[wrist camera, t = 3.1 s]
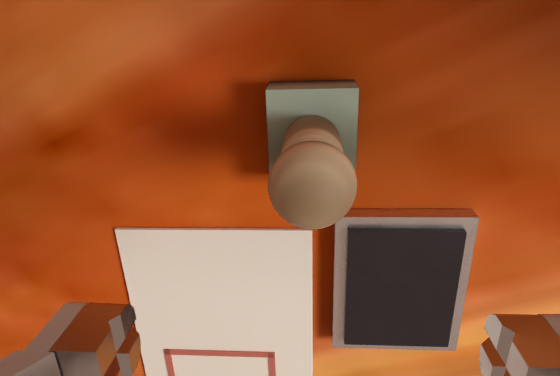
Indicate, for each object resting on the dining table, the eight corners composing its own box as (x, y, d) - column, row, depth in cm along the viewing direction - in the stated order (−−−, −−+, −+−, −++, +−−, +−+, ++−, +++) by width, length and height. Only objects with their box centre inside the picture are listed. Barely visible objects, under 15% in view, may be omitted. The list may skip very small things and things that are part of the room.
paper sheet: (116, 227, 30) (113, 230, 29) (312, 228, 29) (312, 231, 28) (161, 436, 38) (159, 440, 38) (312, 443, 37) (312, 448, 37)
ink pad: (334, 208, 28) (335, 220, 26) (472, 209, 27) (482, 221, 26) (331, 335, 32) (332, 352, 31) (450, 338, 32) (457, 355, 30)
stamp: (270, 81, 25) (243, 130, 15) (354, 79, 25) (382, 127, 15) (274, 174, 27) (252, 268, 18) (350, 173, 27) (373, 269, 17)
